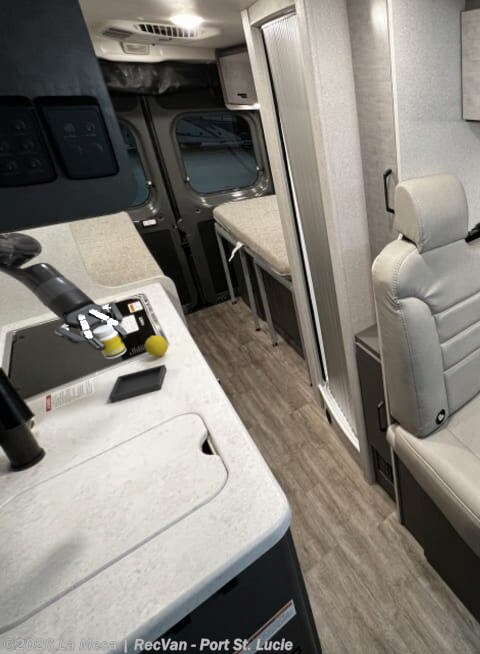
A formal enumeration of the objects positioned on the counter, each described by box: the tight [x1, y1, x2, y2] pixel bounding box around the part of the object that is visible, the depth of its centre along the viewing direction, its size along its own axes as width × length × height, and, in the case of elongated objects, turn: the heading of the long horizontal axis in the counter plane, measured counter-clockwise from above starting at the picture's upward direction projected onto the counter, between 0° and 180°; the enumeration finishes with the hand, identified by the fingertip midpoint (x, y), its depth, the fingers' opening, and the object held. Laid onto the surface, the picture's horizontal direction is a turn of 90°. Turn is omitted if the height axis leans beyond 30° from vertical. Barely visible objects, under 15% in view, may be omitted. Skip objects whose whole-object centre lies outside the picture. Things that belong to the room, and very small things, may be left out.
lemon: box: [144, 335, 169, 357], centre depth 123 cm, size 6×6×8 cm
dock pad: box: [108, 364, 168, 404], centre depth 113 cm, size 12×10×2 cm
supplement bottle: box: [92, 325, 127, 360], centre depth 104 cm, size 5×5×8 cm
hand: (114, 342), depth 103 cm, fingers closed on supplement bottle, 4 cm apart
